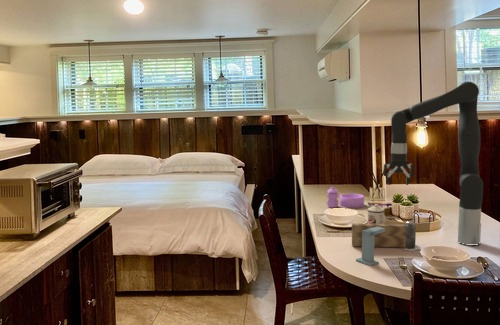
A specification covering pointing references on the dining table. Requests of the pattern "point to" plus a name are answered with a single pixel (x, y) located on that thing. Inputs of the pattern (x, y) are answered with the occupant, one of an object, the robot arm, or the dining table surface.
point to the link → (387, 235)
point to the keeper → (369, 245)
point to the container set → (344, 199)
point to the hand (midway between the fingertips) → (397, 184)
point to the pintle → (415, 245)
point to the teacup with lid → (376, 215)
